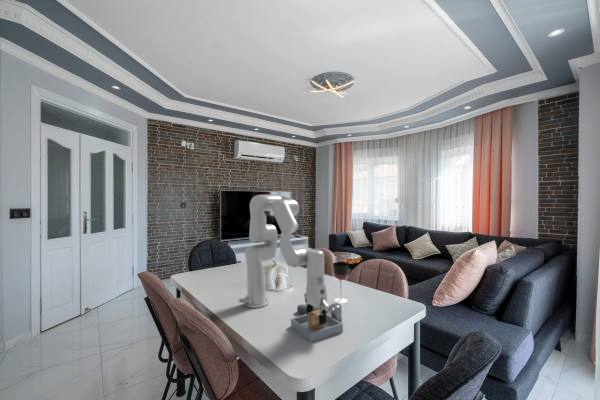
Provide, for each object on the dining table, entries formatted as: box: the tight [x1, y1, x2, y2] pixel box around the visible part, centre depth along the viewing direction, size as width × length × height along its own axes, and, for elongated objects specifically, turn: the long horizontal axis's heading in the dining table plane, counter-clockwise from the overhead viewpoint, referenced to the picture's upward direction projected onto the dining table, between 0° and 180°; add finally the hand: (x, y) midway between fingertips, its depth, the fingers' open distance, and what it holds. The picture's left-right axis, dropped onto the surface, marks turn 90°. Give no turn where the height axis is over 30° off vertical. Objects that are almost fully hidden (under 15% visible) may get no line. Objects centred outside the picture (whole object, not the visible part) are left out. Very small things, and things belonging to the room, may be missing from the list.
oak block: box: [308, 310, 325, 331], centre depth 117 cm, size 4×6×6 cm
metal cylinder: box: [329, 303, 343, 323], centre depth 124 cm, size 5×5×7 cm
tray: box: [290, 313, 344, 343], centre depth 117 cm, size 16×16×3 cm
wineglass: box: [332, 261, 349, 304], centre depth 149 cm, size 8×9×20 cm
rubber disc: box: [296, 304, 307, 316], centre depth 134 cm, size 5×5×3 cm
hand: (316, 319), depth 117 cm, fingers open, 9 cm apart
